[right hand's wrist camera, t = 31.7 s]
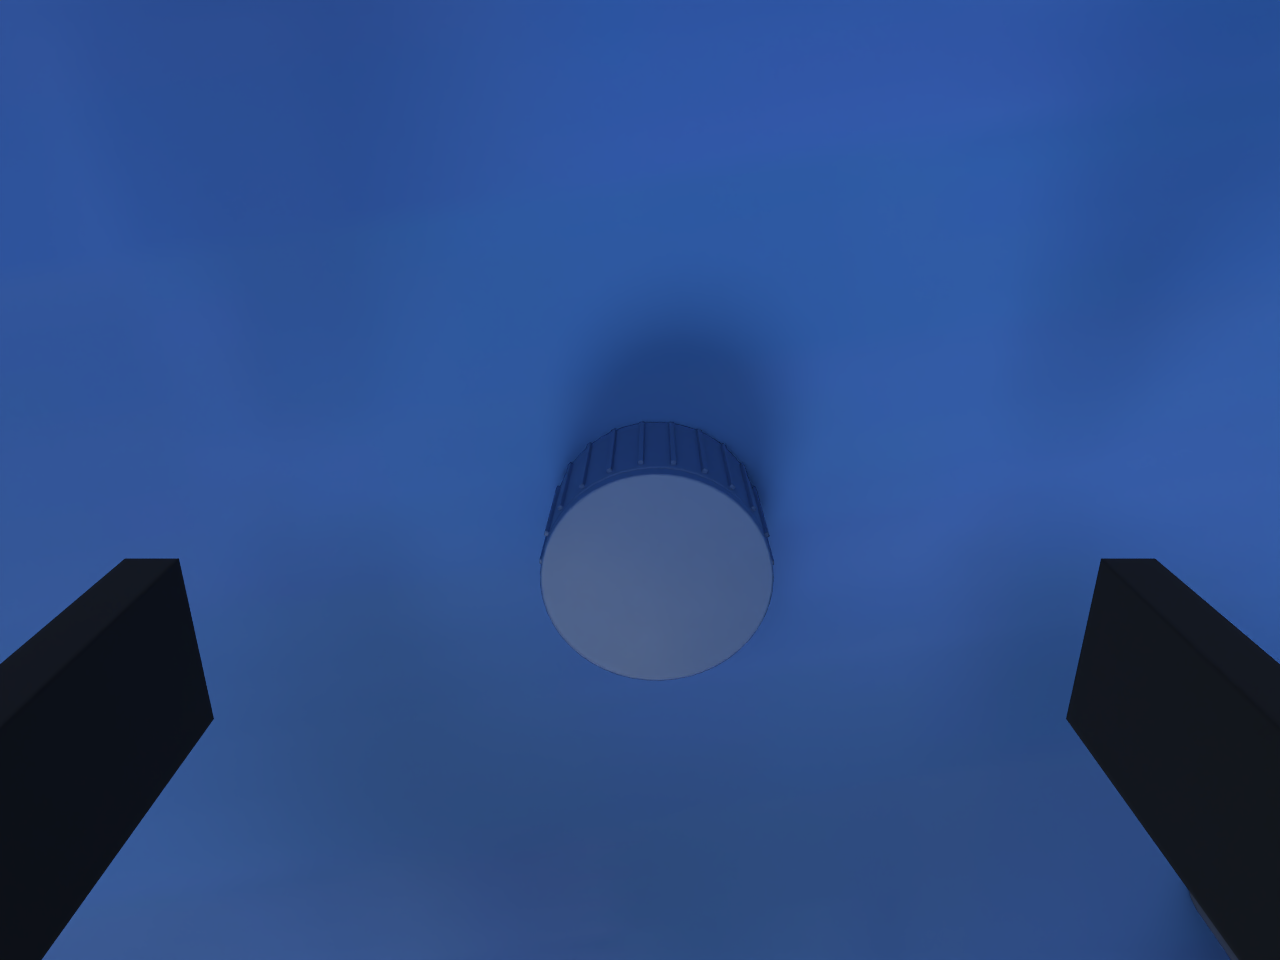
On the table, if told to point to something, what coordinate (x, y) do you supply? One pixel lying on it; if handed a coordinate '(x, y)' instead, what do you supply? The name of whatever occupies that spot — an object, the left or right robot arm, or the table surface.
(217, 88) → the table surface
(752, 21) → the table surface
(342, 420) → the table surface
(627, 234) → the table surface
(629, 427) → the cap
